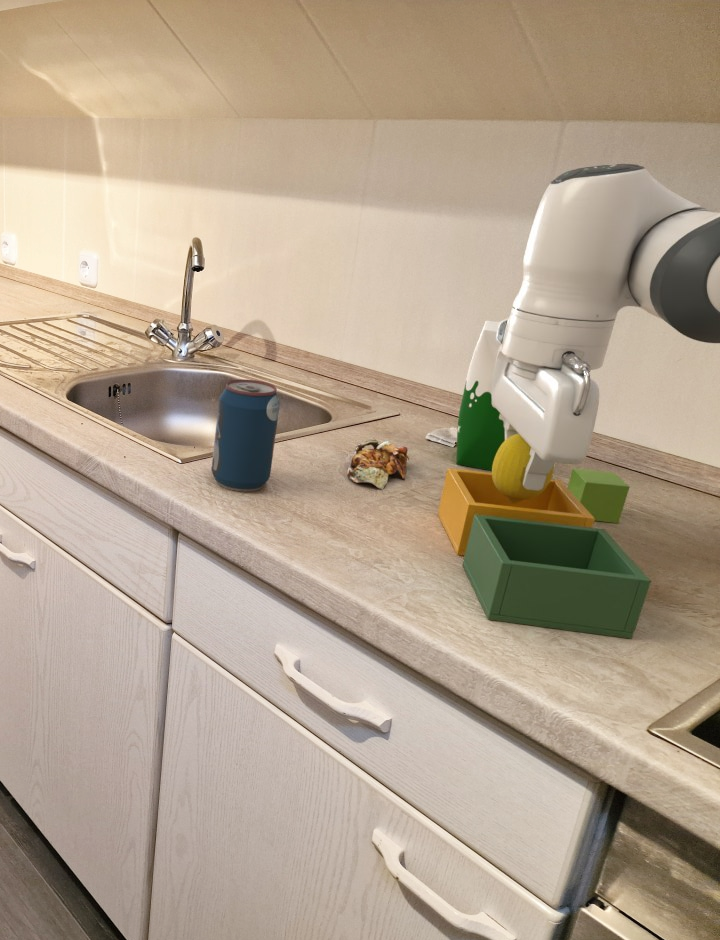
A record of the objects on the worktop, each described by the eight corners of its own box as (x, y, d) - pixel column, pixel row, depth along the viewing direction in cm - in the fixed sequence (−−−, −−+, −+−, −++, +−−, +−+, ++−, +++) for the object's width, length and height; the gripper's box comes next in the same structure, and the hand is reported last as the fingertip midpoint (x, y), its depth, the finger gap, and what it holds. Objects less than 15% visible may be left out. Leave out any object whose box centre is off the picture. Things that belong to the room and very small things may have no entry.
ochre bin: (547, 526, 94) (560, 479, 92) (580, 570, 84) (595, 518, 82) (437, 513, 96) (447, 467, 94) (457, 555, 86) (468, 504, 84)
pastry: (341, 482, 104) (345, 455, 102) (353, 453, 114) (358, 428, 113) (401, 494, 101) (407, 465, 100) (409, 463, 111) (414, 437, 110)
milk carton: (523, 479, 108) (564, 321, 100) (447, 465, 111) (481, 312, 104) (523, 458, 115) (561, 310, 108) (451, 446, 119) (483, 302, 111)
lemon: (485, 489, 92) (502, 418, 89) (542, 500, 90) (561, 428, 87) (483, 506, 87) (501, 432, 84) (543, 518, 85) (564, 443, 82)
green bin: (588, 581, 82) (604, 528, 80) (632, 639, 72) (651, 581, 70) (461, 565, 84) (474, 513, 82) (487, 619, 74) (502, 562, 72)
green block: (603, 508, 100) (614, 472, 98) (618, 523, 96) (629, 486, 94) (562, 503, 101) (572, 468, 99) (575, 518, 96) (586, 481, 95)
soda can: (280, 487, 101) (294, 389, 97) (238, 498, 98) (251, 397, 93) (239, 468, 107) (251, 375, 102) (198, 478, 103) (208, 381, 98)
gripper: (633, 370, 72) (589, 519, 77) (557, 325, 91) (525, 447, 96) (553, 364, 73) (515, 510, 78) (494, 320, 92) (466, 441, 97)
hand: (520, 475), depth 87 cm, fingers closed on lemon, 5 cm apart
